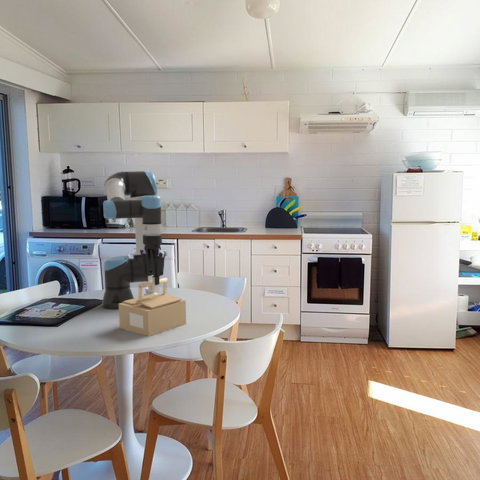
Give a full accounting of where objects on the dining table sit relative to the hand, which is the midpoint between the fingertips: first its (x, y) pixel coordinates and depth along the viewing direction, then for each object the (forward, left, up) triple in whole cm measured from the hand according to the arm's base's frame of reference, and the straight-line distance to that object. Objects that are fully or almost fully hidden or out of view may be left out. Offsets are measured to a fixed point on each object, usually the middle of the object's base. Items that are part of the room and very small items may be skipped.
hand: (153, 291), depth 187 cm
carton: (-1, 0, -14) cm, 14 cm away
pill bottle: (-16, +12, -15) cm, 25 cm away
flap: (+3, 0, -3) cm, 5 cm away
